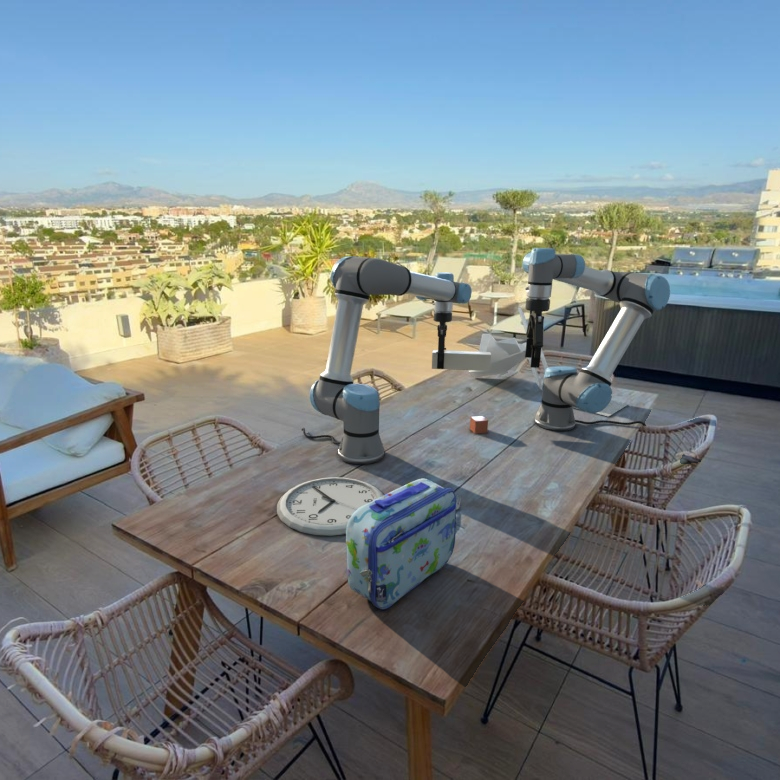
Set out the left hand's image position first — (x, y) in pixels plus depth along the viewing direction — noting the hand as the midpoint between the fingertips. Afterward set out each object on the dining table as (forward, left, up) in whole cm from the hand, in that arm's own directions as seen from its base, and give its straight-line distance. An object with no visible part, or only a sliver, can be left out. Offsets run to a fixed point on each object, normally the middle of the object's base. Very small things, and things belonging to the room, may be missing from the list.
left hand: (440, 366), depth 220 cm
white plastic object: (+14, +47, -17) cm, 52 cm away
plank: (+8, +3, 0) cm, 8 cm away
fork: (+42, -80, -17) cm, 92 cm away
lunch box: (+44, -110, -17) cm, 120 cm away
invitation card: (+60, +37, -17) cm, 72 cm away
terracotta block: (+26, -19, -17) cm, 36 cm away
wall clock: (+12, -93, -17) cm, 95 cm away
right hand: (+45, -25, +14) cm, 53 cm away
